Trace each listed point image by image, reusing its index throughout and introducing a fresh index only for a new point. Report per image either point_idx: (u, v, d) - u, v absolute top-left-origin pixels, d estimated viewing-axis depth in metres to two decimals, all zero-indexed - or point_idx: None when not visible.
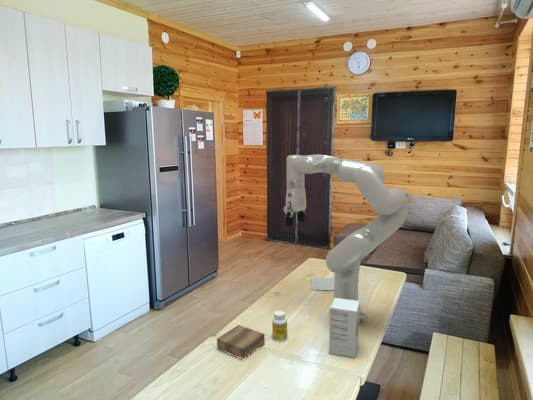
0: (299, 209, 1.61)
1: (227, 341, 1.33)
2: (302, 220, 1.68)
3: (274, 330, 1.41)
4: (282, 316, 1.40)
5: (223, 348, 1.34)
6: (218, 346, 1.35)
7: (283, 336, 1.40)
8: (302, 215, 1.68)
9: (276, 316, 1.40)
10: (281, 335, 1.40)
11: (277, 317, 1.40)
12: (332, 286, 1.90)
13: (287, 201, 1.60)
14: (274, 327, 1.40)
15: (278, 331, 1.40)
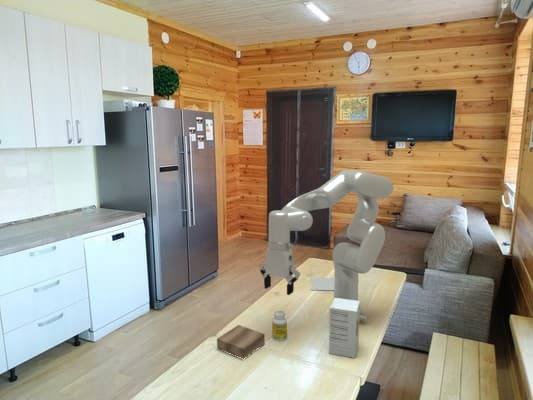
0: None
1: (227, 341, 1.33)
2: (269, 285, 1.43)
3: (274, 330, 1.41)
4: (282, 316, 1.40)
5: (223, 348, 1.34)
6: (218, 346, 1.35)
7: (283, 336, 1.40)
8: (269, 279, 1.42)
9: (276, 316, 1.40)
10: (281, 335, 1.40)
11: (277, 317, 1.40)
12: (332, 286, 1.90)
13: (289, 266, 1.34)
14: (274, 327, 1.40)
15: (278, 331, 1.40)
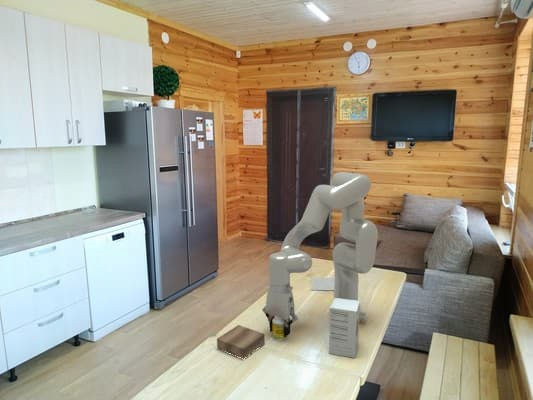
0: None
1: (227, 341, 1.33)
2: None
3: (274, 330, 1.41)
4: None
5: (223, 348, 1.34)
6: (218, 346, 1.35)
7: (283, 336, 1.40)
8: None
9: (276, 316, 1.40)
10: (281, 335, 1.40)
11: (277, 317, 1.39)
12: (332, 286, 1.90)
13: (289, 308, 1.37)
14: (274, 327, 1.40)
15: (278, 331, 1.40)
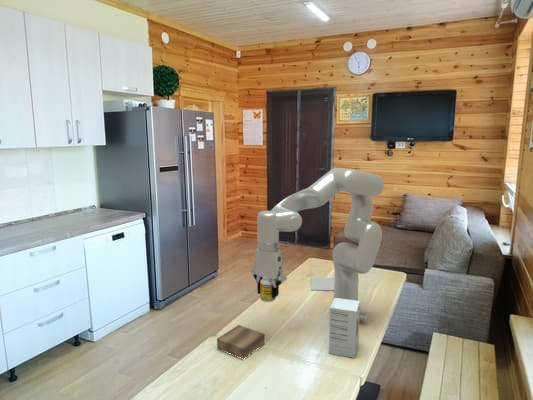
0: None
1: (227, 341, 1.33)
2: None
3: (262, 291, 1.36)
4: None
5: (223, 348, 1.34)
6: (218, 346, 1.35)
7: (271, 297, 1.36)
8: None
9: (264, 276, 1.35)
10: (269, 296, 1.35)
11: None
12: (332, 286, 1.90)
13: (278, 267, 1.33)
14: (262, 288, 1.36)
15: (265, 291, 1.35)
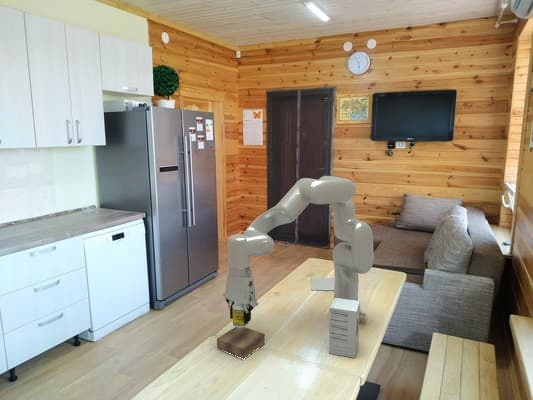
0: None
1: (227, 341, 1.33)
2: None
3: (234, 316, 1.33)
4: None
5: (223, 348, 1.34)
6: (218, 346, 1.35)
7: (243, 323, 1.33)
8: None
9: (236, 301, 1.32)
10: (241, 321, 1.33)
11: (237, 302, 1.32)
12: (332, 286, 1.90)
13: (249, 292, 1.30)
14: (234, 313, 1.33)
15: (237, 317, 1.32)
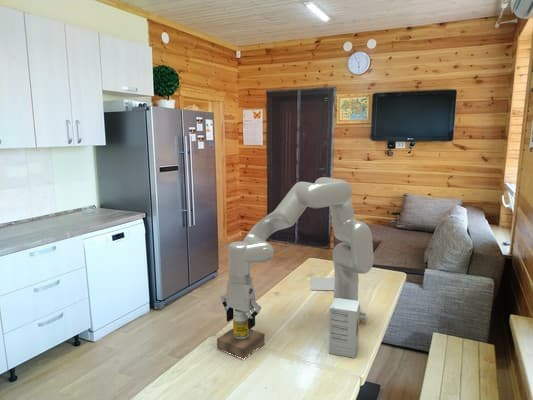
0: None
1: (227, 341, 1.33)
2: (232, 317, 1.39)
3: (235, 328, 1.34)
4: (243, 313, 1.33)
5: (223, 348, 1.34)
6: (218, 346, 1.35)
7: (244, 334, 1.34)
8: (232, 311, 1.38)
9: (237, 313, 1.34)
10: (242, 333, 1.34)
11: (238, 314, 1.33)
12: (332, 286, 1.90)
13: (249, 300, 1.30)
14: (235, 325, 1.34)
15: (238, 328, 1.33)
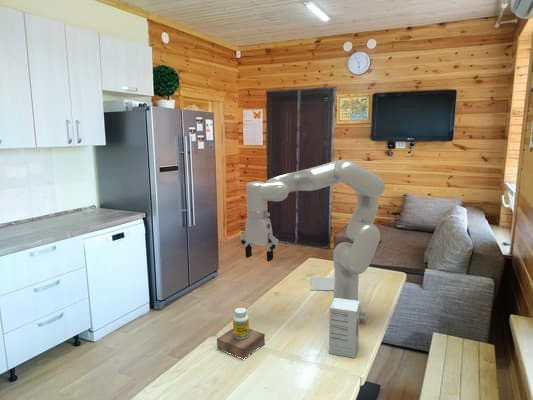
0: None
1: (227, 341, 1.33)
2: (251, 254, 1.49)
3: (235, 328, 1.34)
4: (243, 313, 1.33)
5: (223, 348, 1.34)
6: (218, 346, 1.35)
7: (244, 334, 1.34)
8: (250, 248, 1.49)
9: (237, 313, 1.33)
10: (242, 333, 1.34)
11: (238, 314, 1.33)
12: (332, 286, 1.90)
13: (267, 234, 1.41)
14: (235, 325, 1.34)
15: (238, 329, 1.33)
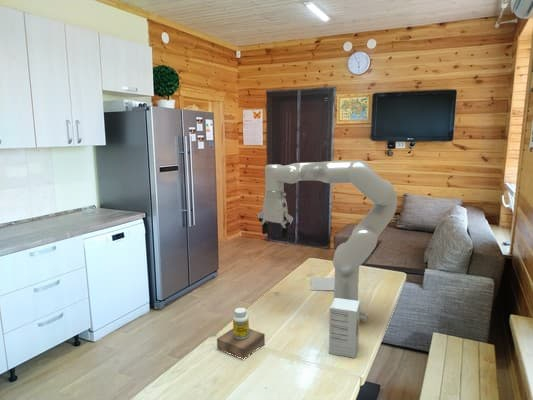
0: None
1: (227, 341, 1.33)
2: (267, 231, 1.63)
3: (235, 328, 1.34)
4: (243, 313, 1.33)
5: (223, 348, 1.34)
6: (218, 346, 1.35)
7: (244, 334, 1.34)
8: (267, 226, 1.63)
9: (236, 313, 1.33)
10: (243, 333, 1.34)
11: (238, 314, 1.33)
12: (332, 286, 1.90)
13: (283, 212, 1.55)
14: (235, 325, 1.34)
15: (238, 329, 1.33)
